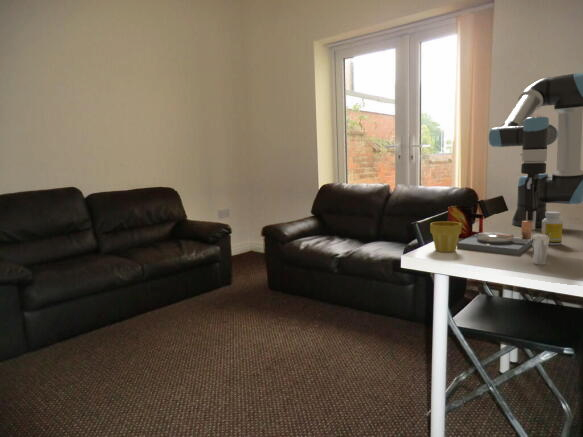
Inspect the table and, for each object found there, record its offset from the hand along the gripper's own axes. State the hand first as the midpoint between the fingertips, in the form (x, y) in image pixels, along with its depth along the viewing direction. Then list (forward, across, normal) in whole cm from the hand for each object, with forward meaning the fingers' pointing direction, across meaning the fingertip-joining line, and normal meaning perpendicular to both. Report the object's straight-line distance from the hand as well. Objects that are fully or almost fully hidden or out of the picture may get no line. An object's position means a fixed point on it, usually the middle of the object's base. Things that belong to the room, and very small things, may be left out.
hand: (530, 229), depth 151 cm
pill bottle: (+7, -10, +5) cm, 13 cm away
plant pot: (+7, +22, -22) cm, 32 cm away
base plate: (+7, +6, -10) cm, 13 cm away
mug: (+7, -8, -25) cm, 27 cm away
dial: (+4, +6, -7) cm, 10 cm away
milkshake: (+7, +24, +8) cm, 26 cm away
